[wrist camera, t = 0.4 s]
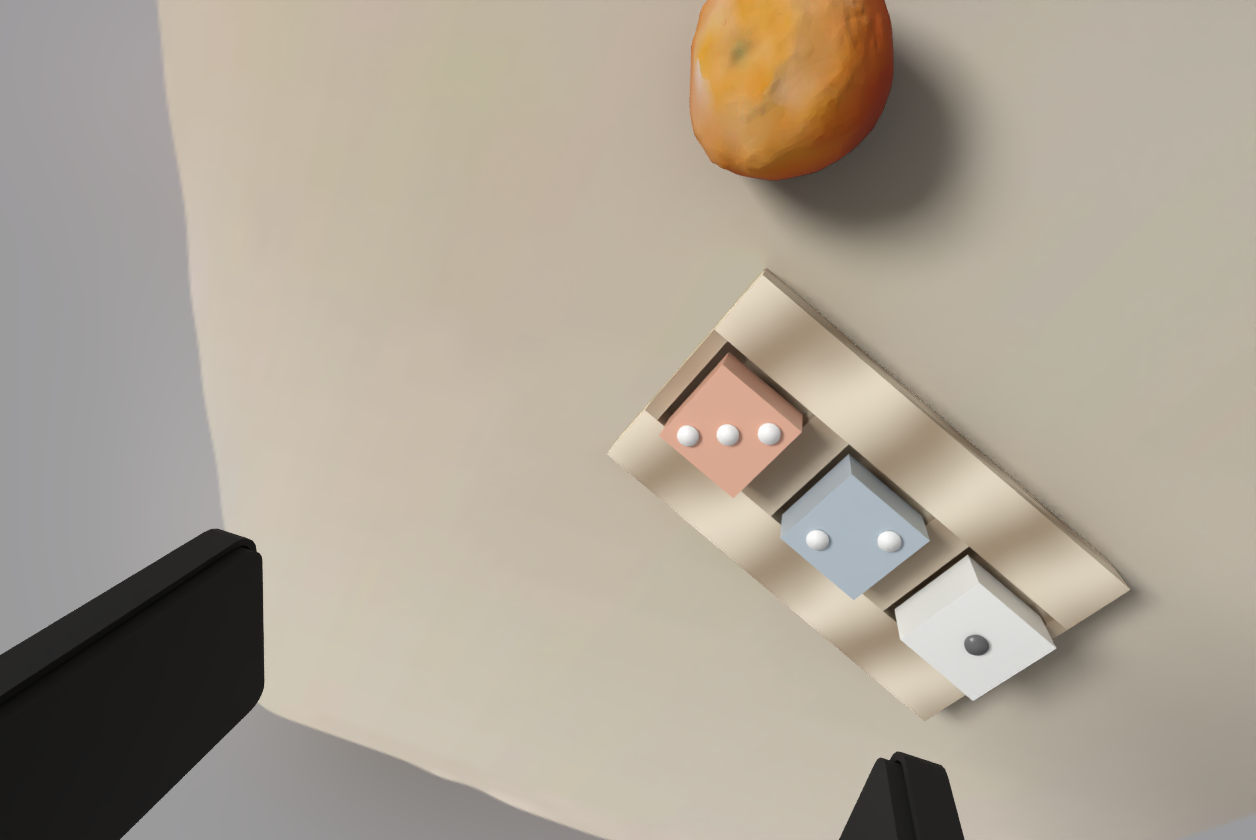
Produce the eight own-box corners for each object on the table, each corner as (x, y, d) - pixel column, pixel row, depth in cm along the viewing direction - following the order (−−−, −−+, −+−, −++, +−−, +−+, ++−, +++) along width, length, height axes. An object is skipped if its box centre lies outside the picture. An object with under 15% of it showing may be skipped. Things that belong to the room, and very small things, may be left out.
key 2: (921, 515, 32) (930, 543, 29) (851, 572, 34) (854, 602, 31) (849, 453, 32) (851, 476, 29) (782, 514, 33) (779, 540, 31)
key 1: (1039, 616, 32) (1057, 651, 29) (962, 667, 34) (973, 703, 31) (967, 554, 32) (979, 584, 29) (894, 609, 34) (900, 642, 31)
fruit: (878, 224, 29) (780, 195, 23) (741, 171, 33) (630, 136, 27) (975, 17, 25) (890, -77, 20) (809, -10, 30) (699, -93, 24)
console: (1109, 561, 32) (1130, 589, 30) (917, 689, 37) (924, 721, 35) (766, 267, 32) (762, 274, 30) (618, 437, 37) (606, 453, 35)
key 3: (802, 414, 32) (801, 433, 29) (738, 477, 33) (732, 500, 31) (729, 351, 31) (721, 365, 29) (669, 418, 33) (657, 437, 31)
